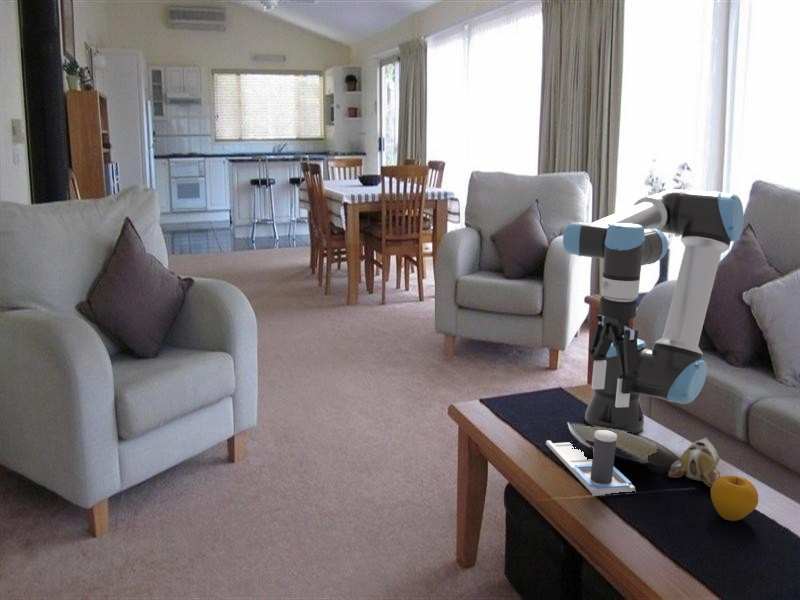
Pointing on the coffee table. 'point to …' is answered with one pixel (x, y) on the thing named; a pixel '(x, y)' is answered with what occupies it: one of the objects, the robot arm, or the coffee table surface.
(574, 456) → the white divided tray
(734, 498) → the apple
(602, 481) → the grey and white cylinder
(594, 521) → the coffee table surface
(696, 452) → the ceramic sculpture
